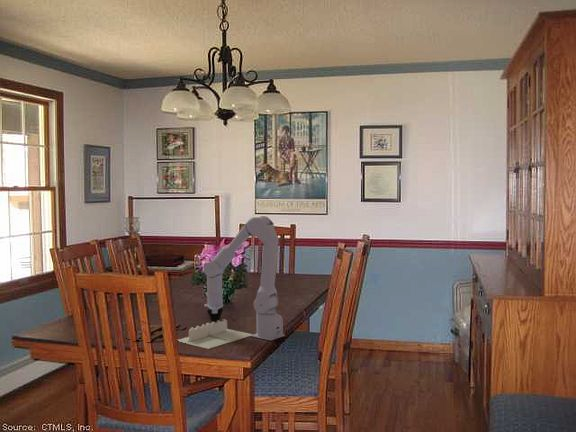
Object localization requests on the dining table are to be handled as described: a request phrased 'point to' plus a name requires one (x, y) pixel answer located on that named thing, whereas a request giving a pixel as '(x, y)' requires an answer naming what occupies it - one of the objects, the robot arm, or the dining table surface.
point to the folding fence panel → (218, 326)
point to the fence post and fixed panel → (200, 332)
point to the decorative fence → (159, 332)
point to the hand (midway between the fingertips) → (215, 328)
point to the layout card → (216, 339)
